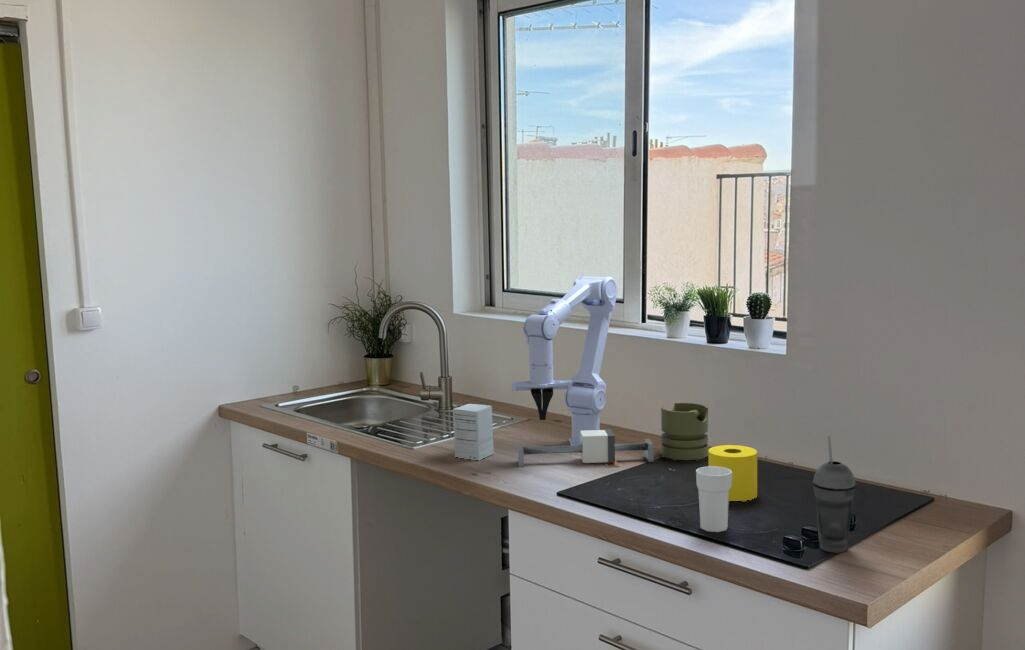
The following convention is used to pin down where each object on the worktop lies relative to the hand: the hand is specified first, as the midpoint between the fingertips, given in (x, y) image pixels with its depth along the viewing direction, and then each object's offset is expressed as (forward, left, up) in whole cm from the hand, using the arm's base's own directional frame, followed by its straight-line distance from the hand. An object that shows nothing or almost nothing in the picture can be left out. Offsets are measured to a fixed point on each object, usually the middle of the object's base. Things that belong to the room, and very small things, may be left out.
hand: (542, 419), depth 226 cm
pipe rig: (+2, +10, -10) cm, 15 cm away
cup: (+52, +29, -11) cm, 60 cm away
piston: (-1, +35, -11) cm, 37 cm away
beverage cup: (+65, +47, -11) cm, 81 cm away
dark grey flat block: (+2, +16, -10) cm, 19 cm away
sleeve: (+2, +12, -10) cm, 16 cm away
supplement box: (-7, -17, -11) cm, 21 cm away
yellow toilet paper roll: (+32, +38, -11) cm, 51 cm away
